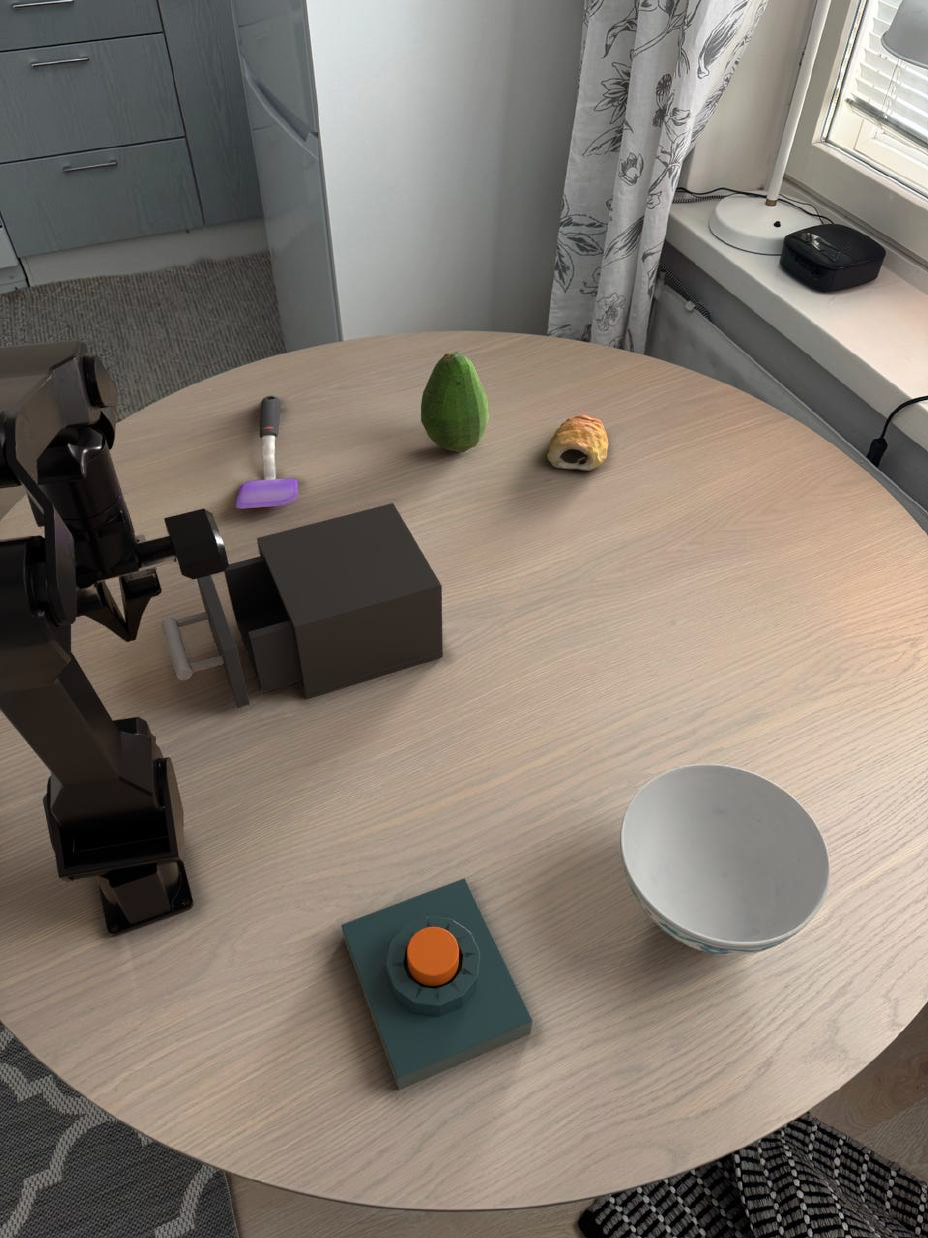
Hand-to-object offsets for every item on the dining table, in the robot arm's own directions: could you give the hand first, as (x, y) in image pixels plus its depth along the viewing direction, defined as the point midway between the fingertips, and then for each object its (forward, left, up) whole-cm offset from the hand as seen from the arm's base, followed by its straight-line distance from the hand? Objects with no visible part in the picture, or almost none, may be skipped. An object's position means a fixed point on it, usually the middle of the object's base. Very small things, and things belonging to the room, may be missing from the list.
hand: (130, 637), depth 87 cm
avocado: (+25, -41, -8) cm, 49 cm away
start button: (-36, -14, -4) cm, 39 cm away
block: (-36, -14, -8) cm, 39 cm away
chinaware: (-38, -36, -8) cm, 53 cm away
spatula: (+31, -20, -8) cm, 38 cm away
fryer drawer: (0, -11, -7) cm, 13 cm away
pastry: (+18, -54, -8) cm, 57 cm away
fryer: (0, -20, -8) cm, 21 cm away
